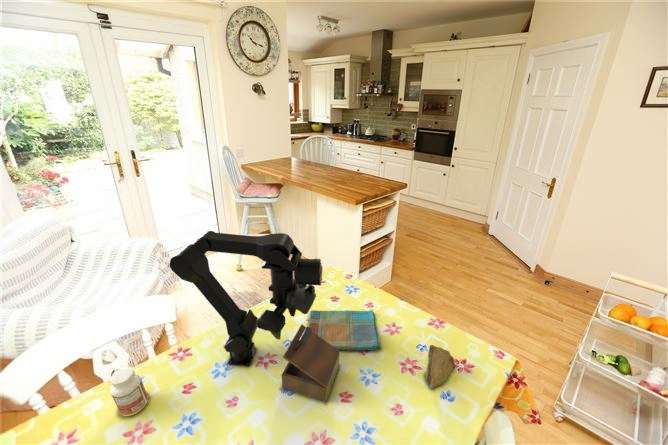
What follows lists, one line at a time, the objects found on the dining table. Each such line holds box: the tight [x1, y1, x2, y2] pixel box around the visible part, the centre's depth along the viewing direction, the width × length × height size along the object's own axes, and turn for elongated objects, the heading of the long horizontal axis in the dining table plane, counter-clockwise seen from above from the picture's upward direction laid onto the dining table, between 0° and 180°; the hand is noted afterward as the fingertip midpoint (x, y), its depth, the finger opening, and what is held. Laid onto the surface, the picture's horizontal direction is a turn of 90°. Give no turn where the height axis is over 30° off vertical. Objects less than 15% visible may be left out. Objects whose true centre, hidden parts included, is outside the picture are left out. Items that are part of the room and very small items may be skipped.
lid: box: [282, 324, 341, 388], centre depth 77 cm, size 13×12×5 cm
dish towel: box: [308, 309, 382, 351], centre depth 97 cm, size 17×23×2 cm
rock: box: [425, 344, 456, 390], centre depth 82 cm, size 11×9×10 cm
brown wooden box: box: [280, 354, 340, 403], centre depth 81 cm, size 13×12×5 cm
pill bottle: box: [109, 366, 149, 417], centre depth 72 cm, size 6×6×11 cm
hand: (285, 326), depth 82 cm, fingers open, 9 cm apart
